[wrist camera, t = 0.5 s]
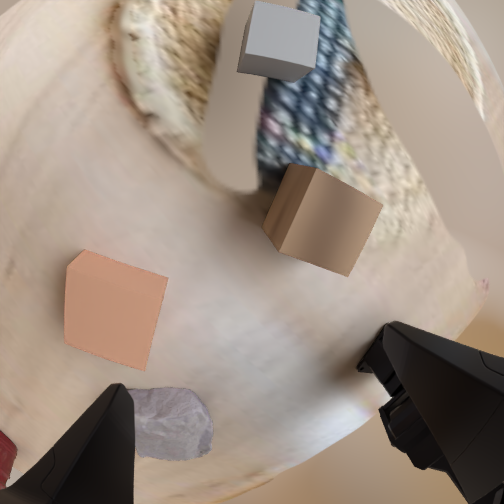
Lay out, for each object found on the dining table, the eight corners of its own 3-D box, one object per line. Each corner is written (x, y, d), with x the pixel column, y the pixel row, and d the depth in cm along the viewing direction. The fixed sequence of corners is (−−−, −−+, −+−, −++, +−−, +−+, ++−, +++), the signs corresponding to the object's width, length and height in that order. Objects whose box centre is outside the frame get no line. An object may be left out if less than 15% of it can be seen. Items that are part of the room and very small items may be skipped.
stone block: (197, 371, 26) (107, 386, 23) (209, 406, 22) (107, 422, 19) (211, 427, 31) (140, 439, 28) (222, 455, 27) (145, 469, 23)
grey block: (299, 37, 15) (320, 16, 11) (293, 82, 16) (314, 68, 13) (245, 26, 14) (255, 0, 11) (236, 72, 16) (245, 53, 12)
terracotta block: (168, 276, 20) (162, 299, 17) (150, 343, 22) (144, 371, 19) (85, 248, 18) (67, 266, 15) (78, 319, 20) (64, 343, 17)
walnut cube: (345, 191, 20) (383, 205, 15) (318, 249, 21) (347, 276, 17) (289, 163, 18) (316, 168, 14) (261, 227, 20) (278, 252, 15)
